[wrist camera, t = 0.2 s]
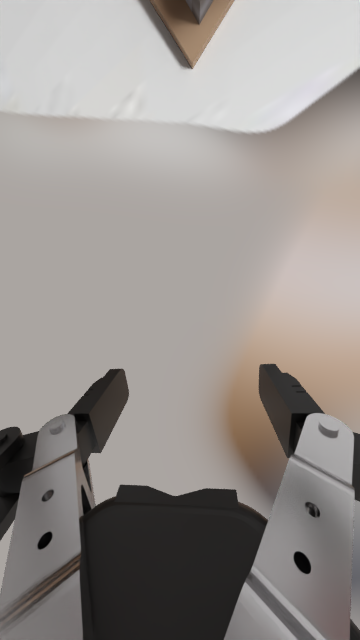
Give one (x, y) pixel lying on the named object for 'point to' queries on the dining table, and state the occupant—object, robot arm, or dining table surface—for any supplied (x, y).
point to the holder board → (192, 22)
